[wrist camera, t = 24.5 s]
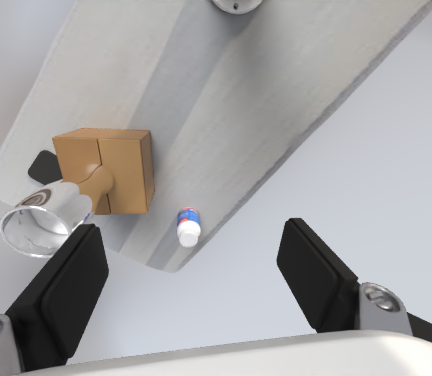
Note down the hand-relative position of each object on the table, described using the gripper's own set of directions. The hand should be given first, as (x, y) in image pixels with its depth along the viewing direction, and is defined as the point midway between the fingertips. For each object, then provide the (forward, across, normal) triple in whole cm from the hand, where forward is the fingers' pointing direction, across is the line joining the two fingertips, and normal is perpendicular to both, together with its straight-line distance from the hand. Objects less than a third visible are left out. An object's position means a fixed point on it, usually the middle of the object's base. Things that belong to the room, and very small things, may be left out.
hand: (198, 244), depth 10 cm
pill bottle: (+36, 0, +21) cm, 42 cm away
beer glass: (+26, +16, +7) cm, 31 cm away
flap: (+26, +11, +7) cm, 30 cm away
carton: (+36, +14, +7) cm, 40 cm away
